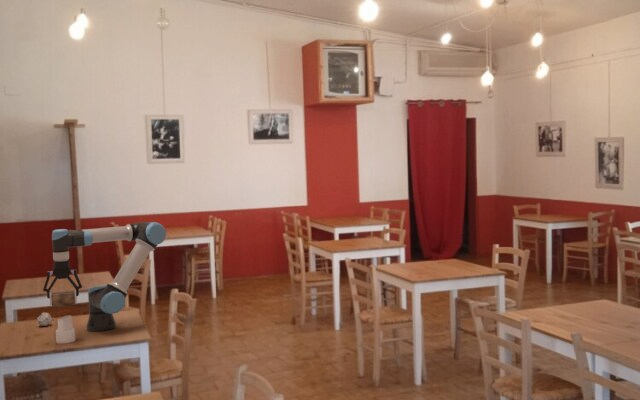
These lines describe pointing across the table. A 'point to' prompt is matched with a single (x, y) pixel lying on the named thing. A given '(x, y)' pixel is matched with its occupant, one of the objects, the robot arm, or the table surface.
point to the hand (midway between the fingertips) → (63, 303)
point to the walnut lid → (63, 299)
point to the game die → (44, 319)
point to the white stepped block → (65, 330)
